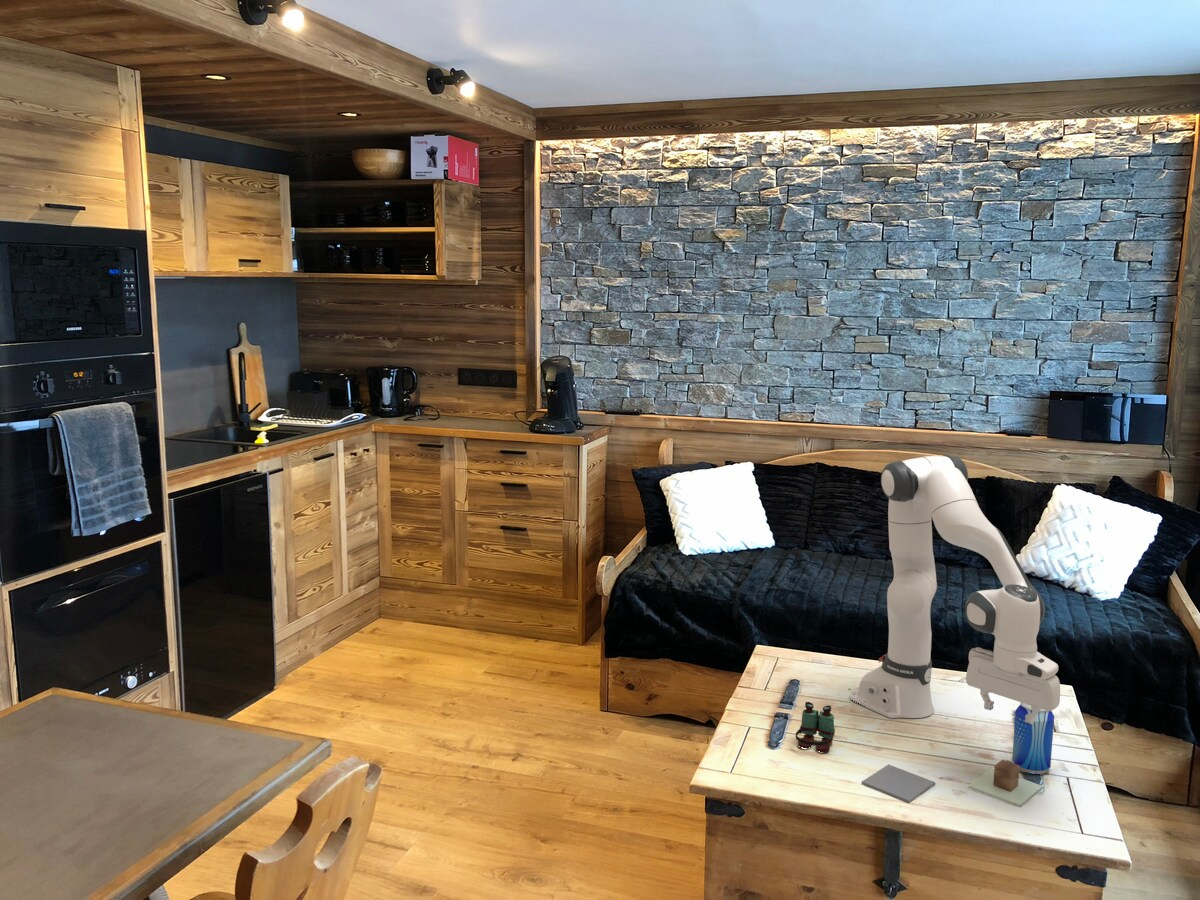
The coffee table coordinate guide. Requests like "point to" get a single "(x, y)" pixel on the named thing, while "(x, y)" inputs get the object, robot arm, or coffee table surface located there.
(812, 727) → the binoculars
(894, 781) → the slate tile
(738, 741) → the coffee table surface
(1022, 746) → the beer can
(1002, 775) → the walnut block
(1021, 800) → the sage tile
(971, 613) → the robot arm
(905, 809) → the coffee table surface
